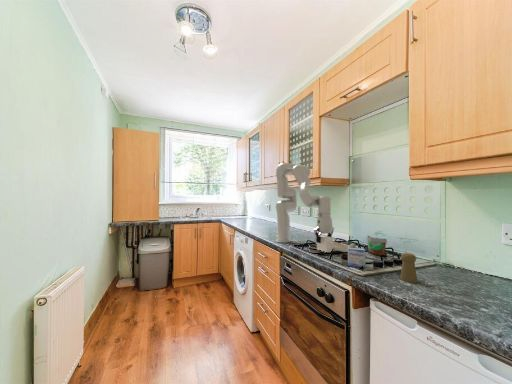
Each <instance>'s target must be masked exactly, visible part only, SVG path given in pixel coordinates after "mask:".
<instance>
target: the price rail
mask: <svg viewBox="0 0 512 384" xmlns="http://www.w3.org/2000/svg"><path fill="white" fill-rule="evenodd" d="M316 244H317V242H316V241H315V245H316ZM348 248H356V243H350V244H345V243H340V242H338V241H337V242H336V241H332V250H335V251H339V252H342V253H345V252H348Z"/></svg>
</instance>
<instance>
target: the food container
mask: <svg viewBox="0 0 512 384" xmlns="http://www.w3.org/2000/svg"><path fill="white" fill-rule="evenodd" d="M365 240H366V241H367V250H368V254H369V255H372V256H380V257H382V256H381V255H384V256H385V255H386V245H387V243H388V240H387V238H379V237H372V236H370V235H366V239H365Z"/></svg>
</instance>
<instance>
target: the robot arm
mask: <svg viewBox="0 0 512 384" xmlns="http://www.w3.org/2000/svg"><path fill="white" fill-rule="evenodd" d="M287 175H289V176H293V177H294V178H295V180H296V183H297V184H298V186H299V189H298V192H299V197H300V199H301V202H302V203H303V205H304V206H306V207H307V208H313V207H314V208H315V207H318V208H317V209H318V212H317V220H316V227H315V228H314V229H313V232H314V235H315V243H316V242H317V243H321V237H320V236H321V235H323V234H327V235H326V236H328V237H332V238H333V234H334V232H335V231H334V230H335V227H333V220H332V217H331V211H332V210H331V209H332V208H331V206H332V205H331V202H332V201H331V200H332V199H331V196H328V195H313V194H312V195H311V194H310V192H309V191H308V187H309V186H310V185H311V183H312V181H311V178H310V177H309V176H311V169H310V167H309V166H307V165H300V164H296V163H287V162H283V163H282V162H281V163H279V164H278V165H277V167H276V170H275V177H276V186H277V187H276V188H277V191H276V192H277V197H278V198H279V199H283V200H278V201H277V202H276V203H275V209H276V217H277V218H276V219H277V221H276V226H277V227H276V230H277V234H276V235H275V238H276V239H275V240H274V241H275V242H277V243H282V244H283V243H286V244H288V243H291V242H292V241H293V240H292V239H291V238H290V237H291V236H290V235H291V234H290V233H291V232H290V230H291V229H290V227H291V226H290V225H291V222H290V220H291V219H290V215H289V213H293V212H295V211H296V210H297V208H298V207H297V206H298V204H297V200H298V199H297V197H298V196H297V190H296V189H295V187H293V186H291V185H290V186H289V180H288V177H287Z"/></svg>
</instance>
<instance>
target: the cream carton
mask: <svg viewBox="0 0 512 384" xmlns="http://www.w3.org/2000/svg"><path fill="white" fill-rule="evenodd" d="M320 237H321V243H317V245H316V250H317V251H319V250H321V251H320V252H323V251H325V252H324V253H326V252H327V253H332V252H333V249H332V242H333V236H332V237H328V236H327V235H323V234H321V236H320ZM331 251H332V252H331Z"/></svg>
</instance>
